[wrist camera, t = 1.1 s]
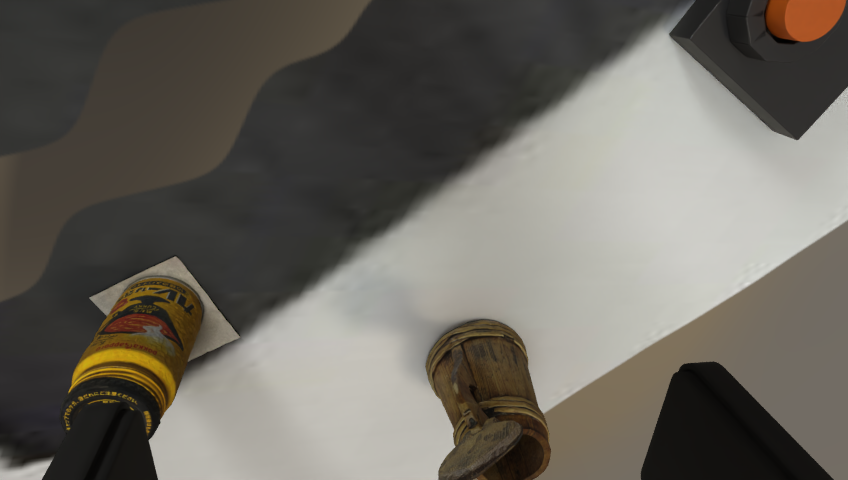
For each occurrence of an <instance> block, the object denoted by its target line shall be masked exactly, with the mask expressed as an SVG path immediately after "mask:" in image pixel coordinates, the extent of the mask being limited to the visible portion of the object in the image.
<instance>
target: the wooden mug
mask: <svg viewBox="0 0 848 480" xmlns="http://www.w3.org/2000/svg"><path fill="white" fill-rule="evenodd" d="M426 371H427V375H428V379H429V382H430V384H431V387H432V389H433V390H434V392H435V394H436V396H437V397H438V398H439V399H441V401H442V404H443V406H444V408H445V410H446V412H447V415H448V417H449V419H450V421H451V423H452V425H453V428H454V433H453V438H454V444H455V446H456V447H455V448H454V449H453V450H452V451H451V452H450V453H449V454H448V455H447V456H446V458H445V459H444V461H443V463H442V464H441V466H440V468H439V471H438V474H439V480H473V479H475V478H477V479H478V480H533V479H534V478H536V477H538V476H539V475H540V474H541V473H542V472H544V471H545V469H546V467H547V466H548V463H549V460H550V453H551V449H550V446H549V431H548V427H547V423H546V420H545V418H544V415H543V413H542V412H541V410H540V409H539V407H538V404H537V400H536V396H535V392H534V389H533V385H532V381H531V377H530V373H529V370H528V357H527V353H526V348H525V346H524V344H523V341H522V339H521V338H520V337H519V336H518V335H517V333H516V332H515V331H514V330H512V329H511V328H509V327H508V326H506V325H503V324H501V323H499V322H497V321H488V320H480V321H475V322H470V323H466V324H465V325H463V326H460V327H458V328H456V329H454V330H452V331H450V332H449V333H447V334H446V335H444V336H443V337H442V338H441V339H440V340H439V341H438V342H437V343H436V344H435V346H434V347H433V349H432V351H431V352H430V354H429V356H428V360H427V363H426Z"/></svg>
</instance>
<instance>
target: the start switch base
mask: <svg viewBox="0 0 848 480" xmlns="http://www.w3.org/2000/svg"><path fill="white" fill-rule="evenodd" d="M767 2H768V0H696V1H695V3H694V4H693V5H692V6H691V8H690V9H689V10H688V12H687V13H686V14H685V15H684V17H683V18H682V19H681V20H680V22H679V23H678V24H677V25H676V27H675V28H674V29H673V31H672V32H671V33H670V36H671V37H672V38H673V39H674V40H675V41H676V42H678V43H679V44H680V45H681V46H682V47H683V48H684V49H685V50H686V51H687V52H688V53H690V54H691V55H692V56H693V57H694V58H695V59H696V60H697V61H698V62H699V63H700V64H701V65H703V66H704V67H705V68H706V69H707V70H708V71H709V72H710V73H711V74H712V75H713V76H714V77H716V78H717V79H718V80H719V81H720V82H721V83H722V84H723V85H724V86H725V87H726V88H727V89H729V90H730V91H731V92H732V93H733V94H734V95H735V96H736V97H737V98H738V99H739V100H740V101H742V102H743V103H744V104H745V105H746V106H747V107H748V108H749V109H750V110H751V111H752V112H754V113H755V114H756V115H757V116H758V117H759V118H760V119H761V120H762V121H763V122H764V123H765V124H767V125H768V126H769V127H770V128H771V129H772V130H773V131H774V132H777V133H779V134H782V135H785V136H787V137H790V138H793V139H795V140H799V139H800V137H801V136H802V135H803V134H804V133H805V132H806V131H807V130H808V129H809V128H810V127H811V126H812V125H813V123H814V122H815V121H816V120H817V119H818V118H819V117H820V116H821V115H822V114H823V113H824V112H825V110H826V109H827V108H828V107H829V106H830V105H831V104H832V103H833V102H834V101H835V100H836V99H837V98H838V96H839V95H840V94H841V93H842V92H843V91H844V90H845V89H846V88H847V87H848V0H846V4H845V7H844V10H843V12H842V15H841V16H840V18H839V20H838V21H837V23H836V24H835V25H834V26H833V28H832V29H831V30H830V31H828V32H827V33H826V34H825V35H823V36H822V37H820V38H818V39H816V40H813V41H809V42H801V41H794V40H788V39H782V38H778V37H776V36H774V35H773V34H772V33H771V32H770V31H769V29H768V27H767V25H766V20H765V11H766V6H767Z"/></svg>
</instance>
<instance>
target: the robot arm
mask: <svg viewBox="0 0 848 480" xmlns="http://www.w3.org/2000/svg"><path fill="white" fill-rule="evenodd" d="M42 480H158V478H157V474H156V470H155V465H154V461H153V457H152V453H151V449H150V445H149V441H148V436H147V432H146V428H145V424H144V420H143V416H142V413H141V411H140V410H131V409H130V406H129V404H128V403H127V402H111V403H96V404H86V405H85V406H83V407H82V409H81V410H80V412H79V413H78V415H77V417H76V419H75V420H74V422H73V424H72V426H71V428H70V430H69V431H68V433H67V435H66V437H65V439H64V440H63V442H62V444H61V446H60V448H59V449H58V451H57V453H56V455H55V457H54V459H53V460H52V462H51V464H50V466H49V468H48V469H47V471H46V473H45V475H44V477H43V479H42ZM641 480H834V479H833V478H831V476H830V475H829V474H827V472H826V471H825V470H824V469H823V468H822V467H821V466H820V465H819V464H818V463H817V462H816V461H815V460H814V459H813V458H812V457H811V456H810V455H809V454H808V453H807V452H806V451H805V450H804V449H803V448H802V447H801V446H800V445H799V444H798V443H797V442H796V441H795V440H794V439H793V438H792V437H791V435H790V434H788V433H787V431H785V429H784V428H783V427H782V426H781V425H780V424H779V423H778V422H777V421H776V420H775V419H774V418H773V417H772V416H771V415H770V414H769V413H768V412H767V411H766V410H765V409H764V408H763V407H762V406H761V405H760V404H759V403H758V402H757V401H756V400H755V399H754V398H753V397H752V396H751V395H750V394H749V393H748V392H747V391H746V390H745V388H744V387H743V386H742V385H741V384H739V382H738V381H737V380H736V379H735V378H734V377H733V376H732V375H731V374H730V373H729V372H728V371H727V370H726V369H725V368H724V367H723V366H722V365H720V364H719V363H717V362H700V363H688V364H683V365H682V366H681V367H680V369H679V371H678V372H676V373H675V374H673V377H672V379H671V382H670V385H669V388H668V391H667V394H666V397H665V400H664V403H663V406H662V409H661V412H660V415H659V418H658V421H657V424H656V427H655V430H654V433H653V436H652V440H651V443H650V446H649V449H648V452H647V455H646V458H645V461H644V464H643V467H642V471H641Z"/></svg>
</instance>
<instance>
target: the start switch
mask: <svg viewBox="0 0 848 480" xmlns="http://www.w3.org/2000/svg"><path fill="white" fill-rule="evenodd" d="M845 4H846V0H768V2H767V6H766V11H765V20H766V25H767V27H768V29H769V31H770V32H771V33H772V34H773V35H774V36H776V37H778V38H782V39H788V40H794V41H801V42H809V41H813V40H816V39H818V38H820V37H822V36H823V35H825V34H826V33H827V32H828V31H830V30H831V29H832V28H833V26H834V25H835V24H836V23H837V21H838V20H839V18H840V16H841V15H842V12H843V10H844V7H845Z"/></svg>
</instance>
